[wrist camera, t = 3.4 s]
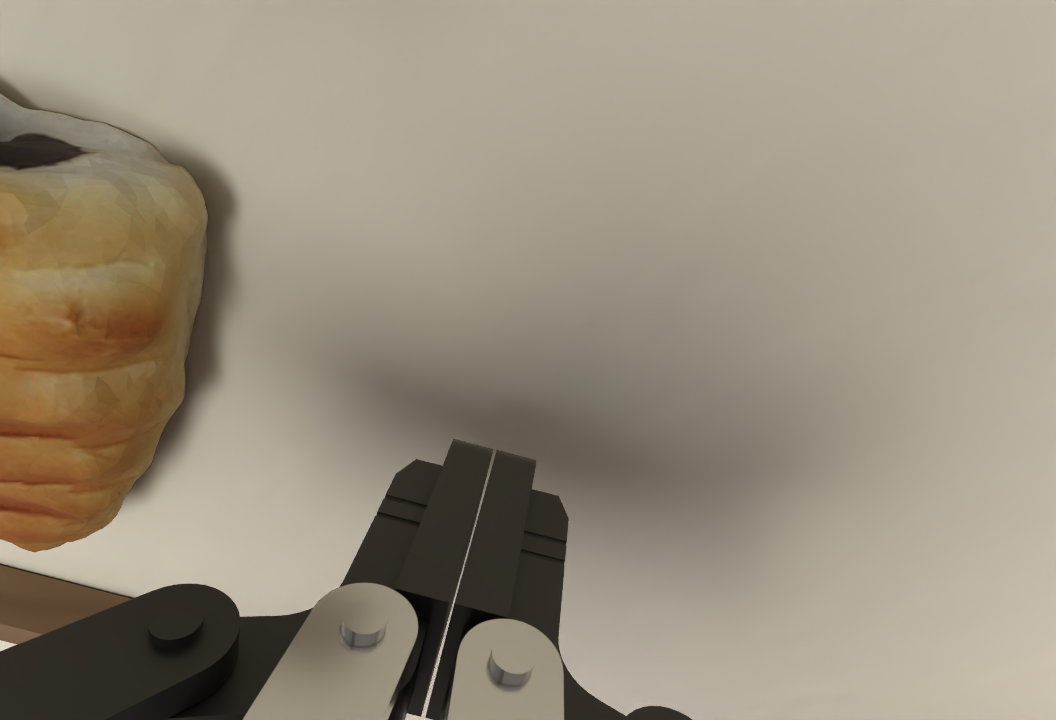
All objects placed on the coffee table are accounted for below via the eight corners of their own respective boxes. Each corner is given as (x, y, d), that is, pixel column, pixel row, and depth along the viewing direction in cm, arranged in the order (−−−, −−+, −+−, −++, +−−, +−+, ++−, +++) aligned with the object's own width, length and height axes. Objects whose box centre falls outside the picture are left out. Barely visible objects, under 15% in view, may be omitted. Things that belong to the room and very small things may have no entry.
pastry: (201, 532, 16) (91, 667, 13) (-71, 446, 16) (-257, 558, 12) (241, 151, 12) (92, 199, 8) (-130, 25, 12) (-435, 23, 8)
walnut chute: (-463, -357, 9) (-637, -420, 8) (489, -108, 10) (470, -129, 8) (-166, 538, 17) (-231, 580, 16) (357, 672, 17) (336, 726, 16)
